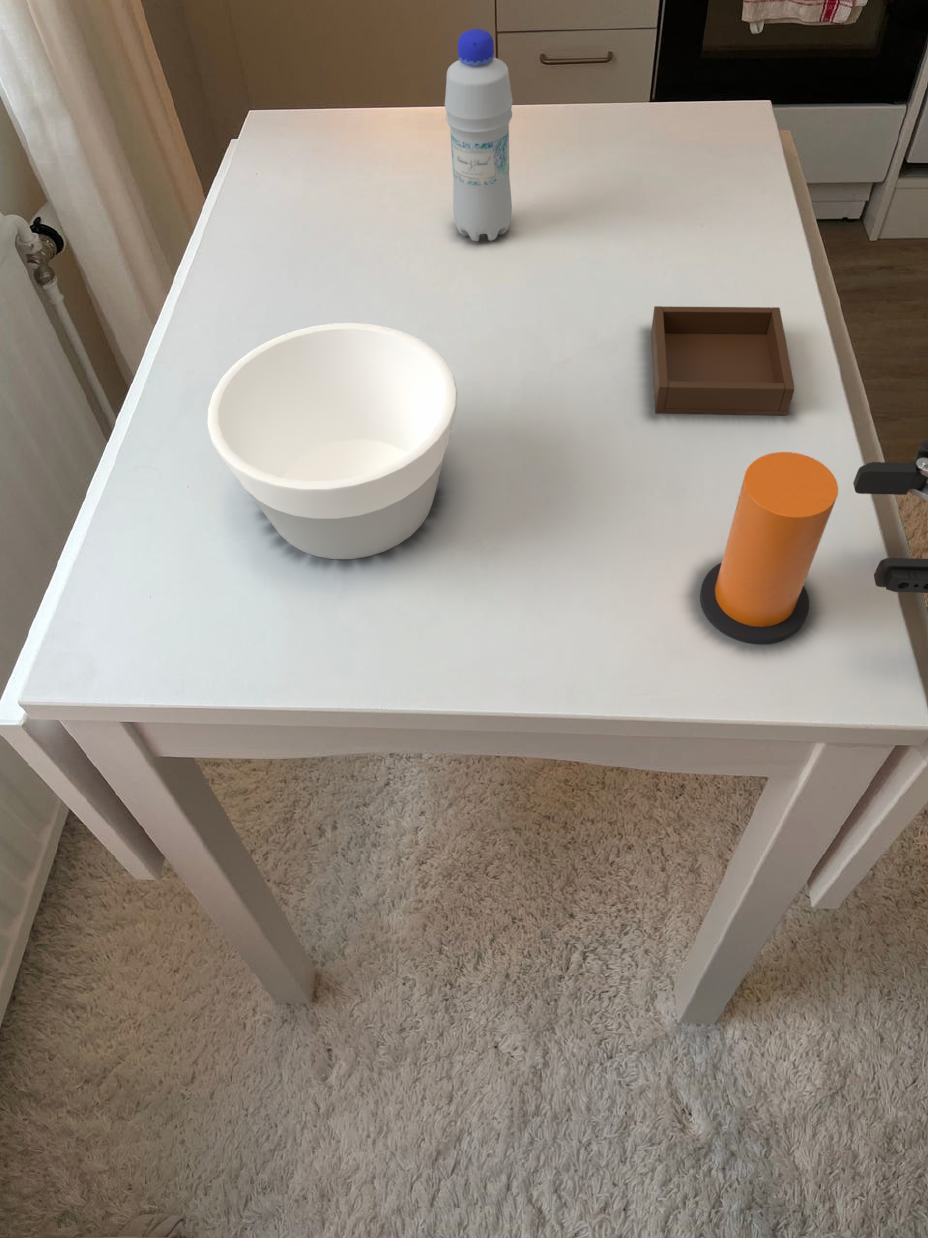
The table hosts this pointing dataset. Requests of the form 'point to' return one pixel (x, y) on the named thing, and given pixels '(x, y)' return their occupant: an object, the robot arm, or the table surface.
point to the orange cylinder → (774, 537)
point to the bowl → (337, 434)
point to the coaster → (745, 631)
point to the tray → (720, 361)
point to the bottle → (479, 137)
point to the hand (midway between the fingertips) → (866, 524)
